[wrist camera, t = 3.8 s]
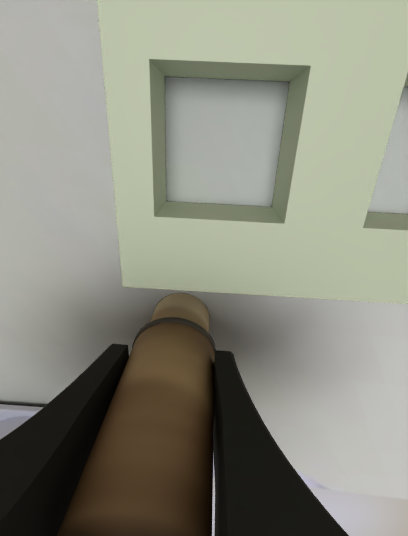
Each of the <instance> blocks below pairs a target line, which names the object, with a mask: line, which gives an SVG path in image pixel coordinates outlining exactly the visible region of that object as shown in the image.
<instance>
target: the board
mask: <svg viewBox="0 0 408 536" xmlns="http://www.w3.org/2000/svg"><path fill="white" fill-rule="evenodd" d="M97 5H98V16H99V28H100V39H101V50H102V61H103V73H104V84H105V95H106V106H107V118H108V129H109V140H110V151H111V163H112V174H113V185H114V196H115V208H116V219H117V230H118V241H119V253H120V264H121V275H122V286H123V287H133V288H150V289H166V290H183V291H200V292H216V293H233V294H250V295H266V296H283V297H300V298H316V299H333V300H349V301H366V302H383V303H399V304H408V214H396V213H377V212H368V208H369V205H370V201H371V198H372V194H373V191H374V188H375V184H376V181H377V177H378V174H379V170H380V167H381V163H382V160H383V156H384V153H385V149H386V146H387V143H388V139H389V136H390V132H391V129H392V125H393V122H394V118H395V115H396V111H397V108H398V104H399V101H400V98H401V94H402V91H403V87H408V0H97ZM165 76H170V77H193V78H216V79H240V80H263V81H287V82H290V84H289V91H288V98H287V105H286V112H285V119H284V126H283V132H282V139H281V146H280V153H279V160H278V167H277V174H276V181H275V188H274V195H273V202H272V207H264V206H245V205H226V204H207V203H188V202H169V201H166V138H165Z"/></svg>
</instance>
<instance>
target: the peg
mask: <svg viewBox="0 0 408 536" xmlns="http://www.w3.org/2000/svg"><path fill="white" fill-rule="evenodd" d="M215 351H216V348H215V344H214V341H213V339H212V337H211V336H210V334H209V312H208V310H207V308H206V306H205V305H204V303H203V302H202V301H200V300H199V299H198V298H196V297H194V296H192V295H189V294H184V293H176V294H171V295H168V296H166V297H164V298H163V299H162V300H161V301H159V303H158V304H157V306H156V308H155V310H154V313H153V316H152V319H151V321H150V322H149V323H148V324H146V325H145V326H144V327H143V328H141V330H140V331H139V332H138V334H137V336H136V338H135V340H134V343H133V346H132V351H131V353H130V356H129V358H128V361H127V363H126V366H125V368H124V371H123V373H122V376H121V378H120V381H119V383H118V386H117V388H116V391H115V393H114V396H113V398H112V400H111V403H110V405H109V408H108V410H107V413H106V415H105V418H104V420H103V423H102V425H101V428H100V430H99V433H98V435H97V438H96V440H95V443H94V445H93V448H92V450H91V452H90V455H89V457H88V460H87V462H86V465H85V467H84V470H83V472H82V475H81V477H80V480H79V482H78V485H77V487H76V490H75V492H74V495H73V497H72V500H71V502H70V505H69V507H68V509H67V512H66V514H65V517H64V519H63V522H62V524H61V527H60V529H59V532H58V534H57V536H212V487H213V486H212V485H213V484H212V483H213V427H214V359H215Z"/></svg>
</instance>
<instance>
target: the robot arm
mask: <svg viewBox="0 0 408 536" xmlns="http://www.w3.org/2000/svg"><path fill="white" fill-rule="evenodd" d="M128 358H129V354H128V345H121V344H112V345H111V346H109V347H108V348H107V349H106V350H105V351H104V352H103V353H102V354H101V355H100V356H99V357H98V358H97V359H96V360H95V361H94V362H93V363H92V364H91V365H90V366H89V367H88V368H87V369H86V370H85V371H84V372H83V373H82V374H81V375H80V376H79V377H78V378H77V379H76V380H75V381H74V382H72V383H71V384H70V385H69V386H68V387H67V388H66V389H65V390H63V391H62V392H61V393H60V394H59V395H58V396H57V397H55V398H54V399H53V400H52V401H51V402H50V403H48V404H47V405H46V406H45V407H33V406H19V405H5V404H0V536H57V534H58V532H59V529H60V527H61V524H62V522H63V519H64V517H65V514H66V512H67V509H68V507H69V505H70V502H71V500H72V497H73V495H74V492H75V490H76V487H77V485H78V482H79V480H80V477H81V475H82V472H83V470H84V467H85V465H86V462H87V460H88V457H89V455H90V452H91V450H92V448H93V445H94V443H95V440H96V438H97V435H98V433H99V430H100V428H101V425H102V423H103V420H104V418H105V415H106V413H107V410H108V408H109V405H110V403H111V400H112V398H113V396H114V393H115V391H116V388H117V386H118V383H119V381H120V378H121V376H122V373H123V371H124V368H125V366H126V363H127V361H128ZM213 453H214V470H215V536H348V534H347V533H346V532H345V531H344V530H343V529H342V528H341V526H340V525H339V524H338V523H337V522H336V521H335V520H334V518H333V517H332V516H331V515H330V514H329V512H328V511H327V510H326V509H325V508H324V507H323V505H322V504H321V503H320V502H319V500H318V499H317V498H316V497H315V496H314V494H313V493H312V492H311V490H310V489H309V488H308V486H307V485H306V484H305V483H304V481H303V480H302V479H301V477H300V476H299V475H298V473H297V472H296V471H295V469H294V468H293V467H292V465H291V464H290V463H289V461H288V460H287V458H286V457H285V455H284V454H283V452H282V451H281V450H280V448H279V447H278V445H277V443H276V442H275V440H274V439H273V437H272V436H271V434H270V432H269V431H268V429H267V427H266V426H265V424H264V422H263V421H262V419H261V417H260V415H259V413H258V411H257V410H256V408H255V406H254V404H253V402H252V400H251V398H250V396H249V394H248V392H247V389H246V387H245V385H244V383H243V381H242V378H241V376H240V373H239V371H238V368H237V365H236V362H235V359H234V355H233V353H232V352H229V351H215V359H214V427H213Z"/></svg>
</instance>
